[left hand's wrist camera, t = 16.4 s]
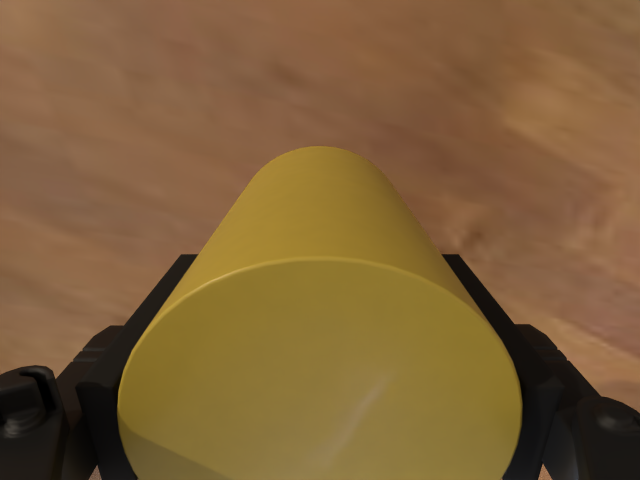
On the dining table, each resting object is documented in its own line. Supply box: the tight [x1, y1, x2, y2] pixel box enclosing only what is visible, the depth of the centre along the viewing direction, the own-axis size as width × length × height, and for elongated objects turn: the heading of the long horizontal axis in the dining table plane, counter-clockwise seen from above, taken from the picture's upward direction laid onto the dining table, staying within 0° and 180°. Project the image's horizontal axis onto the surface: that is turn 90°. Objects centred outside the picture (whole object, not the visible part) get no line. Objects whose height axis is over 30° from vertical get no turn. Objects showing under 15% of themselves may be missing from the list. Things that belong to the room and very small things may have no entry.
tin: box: [117, 146, 523, 480], centre depth 14 cm, size 8×8×12 cm
